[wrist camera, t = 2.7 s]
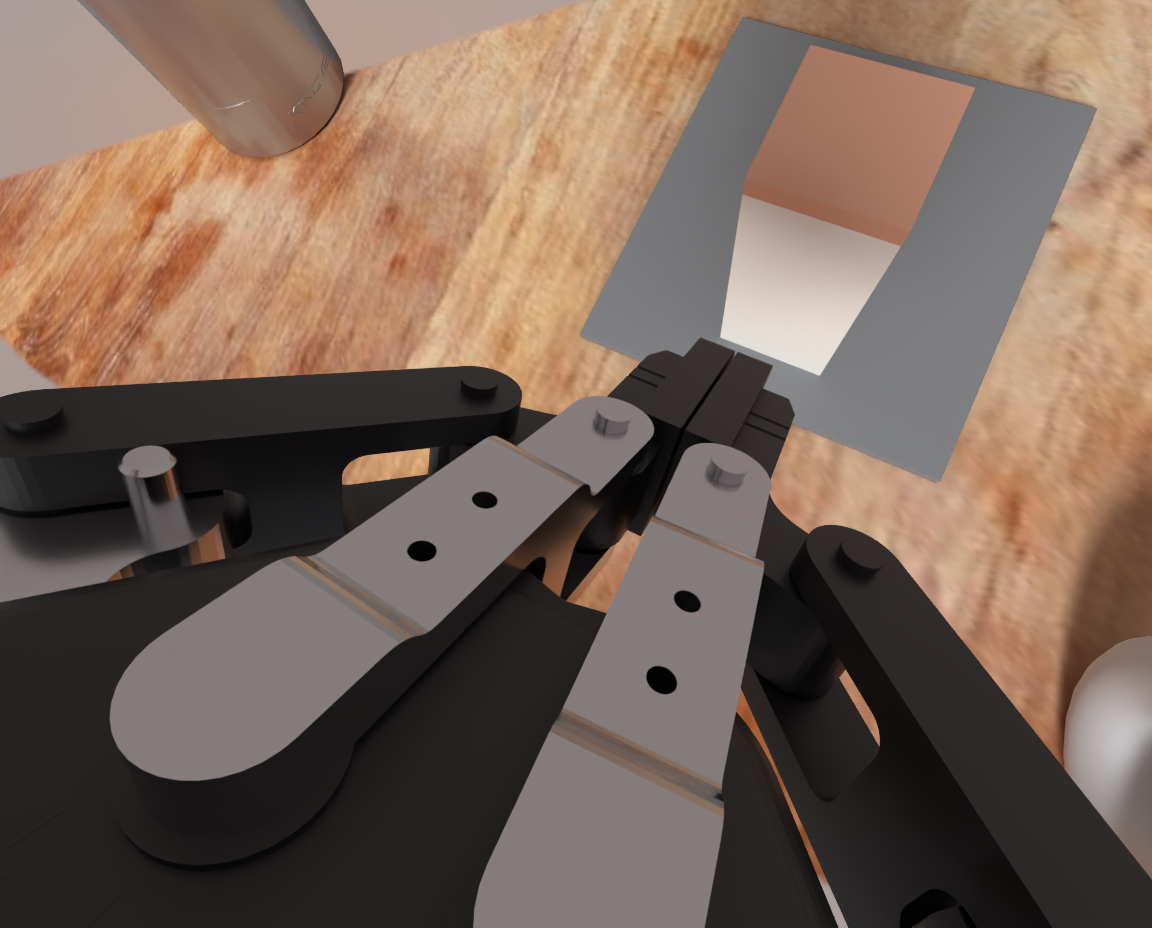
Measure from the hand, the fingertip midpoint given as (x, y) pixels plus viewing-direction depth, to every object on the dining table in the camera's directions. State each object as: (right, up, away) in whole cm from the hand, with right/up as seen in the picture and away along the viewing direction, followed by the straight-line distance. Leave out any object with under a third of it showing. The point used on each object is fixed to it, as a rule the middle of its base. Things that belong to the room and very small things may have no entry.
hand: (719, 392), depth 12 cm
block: (+8, +6, +18) cm, 20 cm away
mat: (+10, +10, +19) cm, 24 cm away
